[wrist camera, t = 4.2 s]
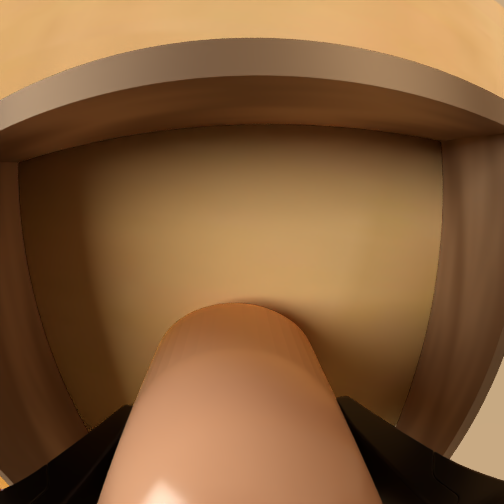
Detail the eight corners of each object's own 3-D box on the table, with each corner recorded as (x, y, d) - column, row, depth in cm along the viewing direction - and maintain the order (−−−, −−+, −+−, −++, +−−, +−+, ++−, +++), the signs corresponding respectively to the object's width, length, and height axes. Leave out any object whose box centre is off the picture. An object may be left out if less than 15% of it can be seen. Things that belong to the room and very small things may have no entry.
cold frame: (101, 468, 11) (76, 540, 5) (6, 147, 7) (-108, 144, 1) (393, 454, 12) (429, 523, 6) (453, 125, 8) (574, 109, 2)
